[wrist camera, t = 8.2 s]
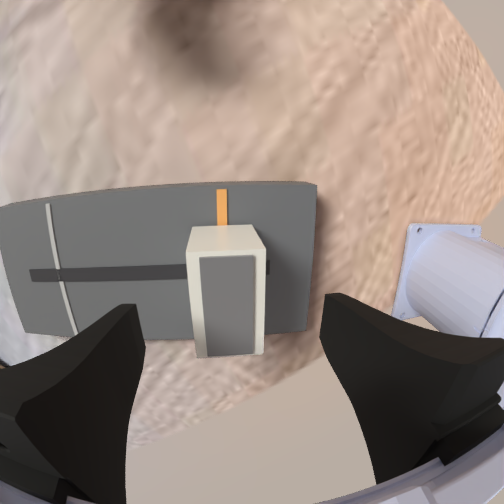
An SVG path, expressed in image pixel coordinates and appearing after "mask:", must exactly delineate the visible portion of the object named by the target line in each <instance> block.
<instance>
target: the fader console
mask: <svg viewBox="0 0 504 504" xmlns="http://www.w3.org/2000/svg"><path fill="white" fill-rule="evenodd" d="M316 198H317V185H315V184H311V183H308V182H294V181H240V182H204V183H183V184H166V185H151V186H139V187H127V188H117V189H107V190H98V191H89V192H81V193H73V194H66V195H59V196H52V197H46V198H39V199H33V200H27V201H22V202H16V203H11V204H8V205H5V206H2V207H0V250H1V254H2V259H3V263H4V267H5V271H6V275H7V279H8V282H9V286H10V289H11V293H12V296H13V299H14V302H15V305H16V308H17V311H18V314H19V317H20V320H21V322H22V325H23V328H24V330H25V333H34V334H44V335H55V336H67V337H74V336H75V335H77V334H78V333H80V332H81V331H83V330H84V329H86V328H87V327H89V326H90V325H91V324H93V323H94V322H96V321H97V320H98V319H100V318H101V317H102V316H104V315H105V314H106V313H108V312H109V311H111V310H112V309H113V308H115V307H116V306H118V305H120V304H136V305H137V310H138V315H139V320H140V325H141V329H142V334H143V338H144V340H169V339H194V332H193V324H192V315H191V306H190V297H189V286H188V276H187V264H186V249H187V245H188V241H189V237H190V233H191V230H192V227H196V226H221V225H250V224H252V226H253V228H254V229H255V231H256V233H257V234H258V236H259V238H260V239H261V241H262V243H263V245H264V246H265V248H266V276H265V317H264V335H268V334H279V333H289V332H298V331H306V325H307V316H308V307H309V297H310V286H311V275H312V263H313V250H314V235H315V219H316Z"/></svg>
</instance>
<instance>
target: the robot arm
mask: <svg viewBox="0 0 504 504" xmlns="http://www.w3.org/2000/svg"><path fill="white" fill-rule="evenodd" d="M418 229H419V232H418V233H417V231H418ZM480 236H481V226H479V225H474V224H436V223H412V224H410V225H409V227H408V229H407V236H406V243H405V249H404V255H403V261H402V267H401V272H400V277H399V282H398V287H397V292H396V296H395V301H394V305H393V309H392V314H391V316H390V315H388V314H385V313H383V312H381V311H379V310H377V309H375V308H372V307H370V306H368V305H366V304H364V303H362V302H360V301H358V300H356V299H354V298H352V297H349V296H347V295H345V294H342V293H331V294H325V300H324V308H323V315H322V322H321V329H320V336H319V338H320V340H321V343H322V346H323V349H324V352H325V354H326V357H327V359H328V361H329V362H330V364H331V366H332V368H333V370H334V372H335V373H336V375H337V377H338V379H339V381H340V383H341V384H342V386H343V388H344V389H345V392H346V393H347V395H348V397H349V399H350V401H351V403H352V405H353V408H354V410H355V413H356V416H357V418H358V421H359V423H360V426H361V429H362V432H363V435H364V438H365V441H366V444H367V447H368V451H369V455H370V458H371V462H372V466H373V470H374V475H375V479H376V485H375V486H373V487H370V488H367V489H364V490H361V491H358V492H355V493H352V494H349V495H346V496H342V497H338V498H335V499H331V500H328V501H323V502H319V503H315V504H486V503H488V501H490V500H491V499H492V498H493V497H494V496H495V495H496V494H498V493H499V492H500V491H501V490H502V489H503V488H504V248H503V247H501V246H499V245H497V244H495V243H492V242H490V241H488V240H485V239H483V238H481V237H480ZM418 316H423V317H424V318H425V319H426V320H427V321H428V322H429V323H431V324H432V325H433V326H434V327H435V328H436V329H437V330H439V331H440V332H438V331H433V330H429V329H425V328H422V327H419V326H416V325H413V324H410V323H407V322H404V321H402V320H405V319H410V318H414V317H418ZM145 349H146V346H145V342H144V338H143V334H142V329H141V325H140V320H139V315H138V310H137V305H136V304H120V305H118V306H116V307H115V308H113V309H112V310H111V311H109V312H108V313H106V314H105V315H104V316H102V317H101V318H100V319H98V320H97V321H96V322H94V323H93V324H91V325H90V326H89V327H87V328H86V329H84V330H83V331H81V332H80V333H78V334H77V335H75V336H74V337H72V338H71V339H69V340H68V341H66V342H64V343H63V344H61V345H59V346H57V347H56V348H54V349H52V350H50V351H48V352H46V353H44V354H41V355H39V356H37V357H34V358H32V359H30V360H27V361H25V362H22V363H19V364H16V365H13V366H10V367H7V368H3V369H0V504H126V489H125V460H126V443H127V434H128V424H129V419H130V414H131V410H132V406H133V402H134V399H135V395H136V391H137V388H138V384H139V381H140V377H141V373H142V370H143V364H144V357H145Z"/></svg>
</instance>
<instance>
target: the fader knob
mask: <svg viewBox="0 0 504 504" xmlns="http://www.w3.org/2000/svg"><path fill="white" fill-rule="evenodd" d="M186 264H187V276H188V286H189V297H190V306H191V315H192V324H193V332H194V340H195V348H196V355H197V358H216V357H234V356H247V355H259V354H263V351H264V317H265V276H266V248H265V246H264V245H263V243H262V241H261V239H260V238H259V236H258V234H257V233H256V231H255V229H254V228H253V226H252V224H250V225H221V226H196V227H192V230H191V233H190V237H189V241H188V245H187V249H186Z"/></svg>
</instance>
